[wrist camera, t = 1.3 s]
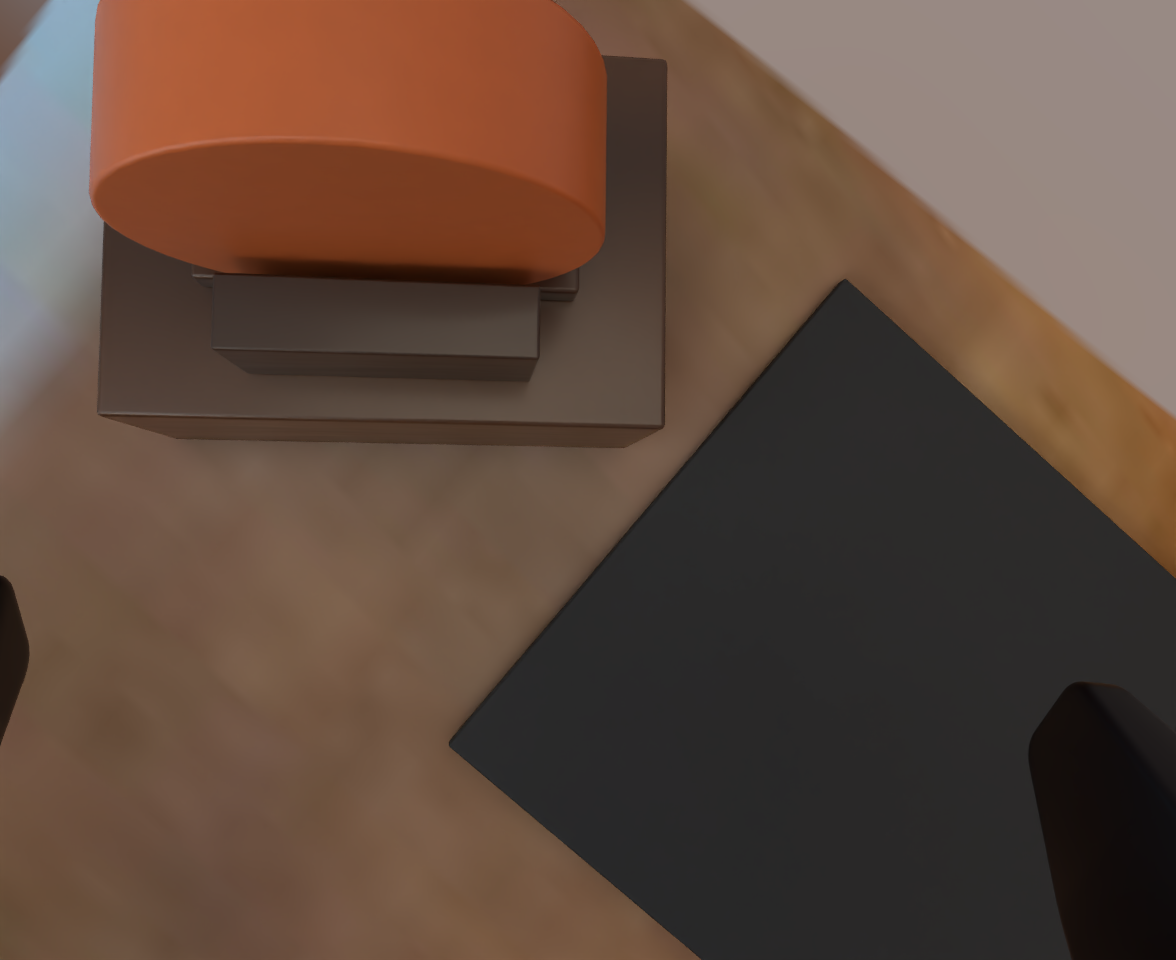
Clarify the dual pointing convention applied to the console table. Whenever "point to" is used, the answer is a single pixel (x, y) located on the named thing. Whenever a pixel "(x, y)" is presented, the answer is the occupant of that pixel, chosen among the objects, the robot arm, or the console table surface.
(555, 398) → the brown notched block
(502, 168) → the disc
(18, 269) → the console table surface
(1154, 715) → the robot arm
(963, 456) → the mat
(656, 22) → the console table surface
